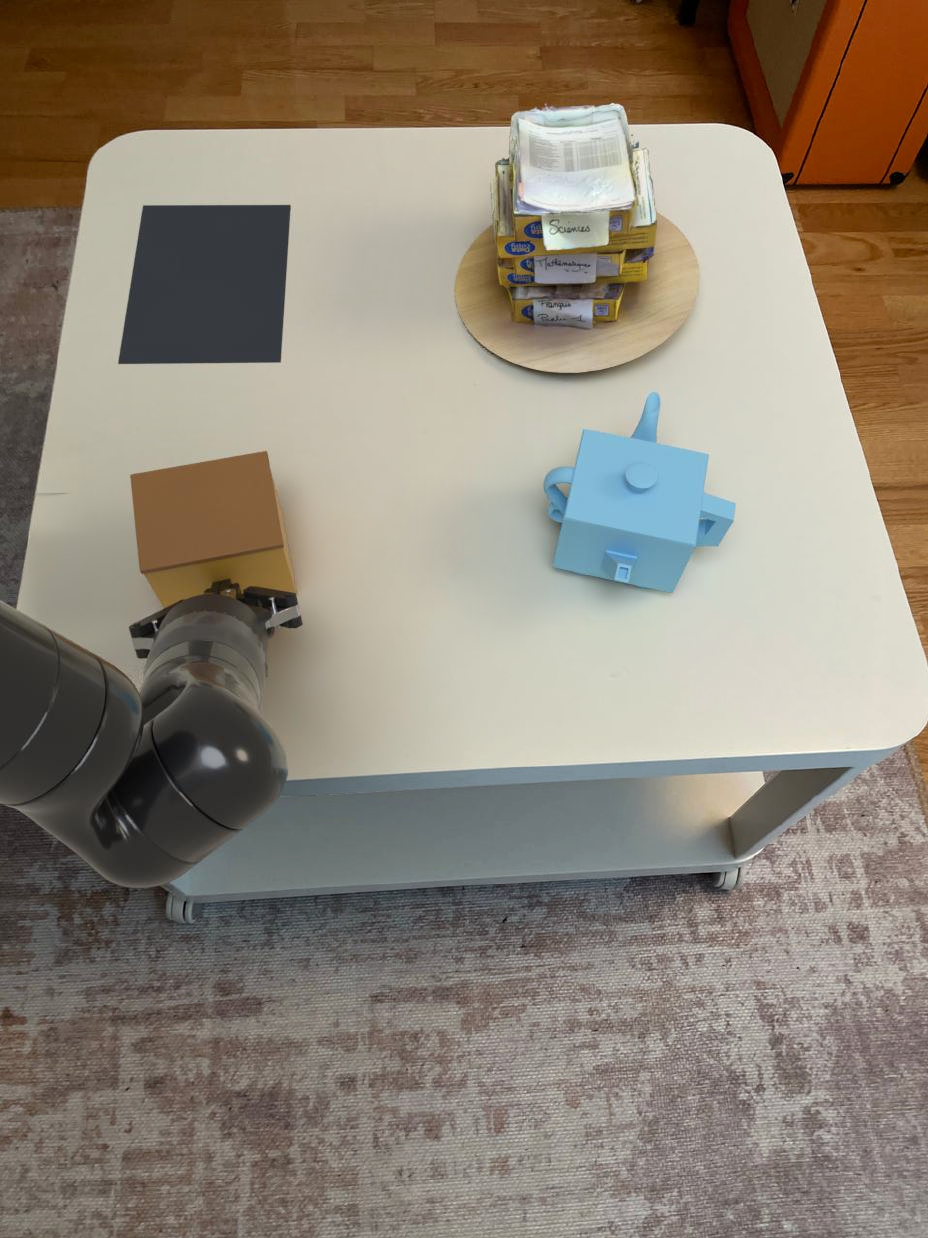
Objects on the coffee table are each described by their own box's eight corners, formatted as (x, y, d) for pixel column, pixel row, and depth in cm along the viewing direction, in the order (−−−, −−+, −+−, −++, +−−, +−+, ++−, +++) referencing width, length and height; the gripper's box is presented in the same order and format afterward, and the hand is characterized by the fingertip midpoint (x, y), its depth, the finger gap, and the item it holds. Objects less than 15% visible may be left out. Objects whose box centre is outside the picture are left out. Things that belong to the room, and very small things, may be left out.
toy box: (298, 595, 82) (283, 544, 74) (169, 620, 81) (139, 571, 73) (282, 508, 86) (266, 450, 78) (159, 531, 85) (129, 474, 77)
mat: (118, 364, 93) (117, 363, 93) (143, 206, 102) (143, 205, 102) (280, 363, 94) (280, 362, 93) (290, 205, 103) (290, 204, 103)
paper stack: (425, 352, 94) (423, 216, 79) (490, 186, 105) (499, 39, 90) (665, 410, 92) (710, 282, 77) (708, 235, 102) (754, 92, 87)
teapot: (517, 606, 82) (528, 541, 72) (555, 443, 90) (570, 363, 80) (695, 645, 81) (732, 585, 71) (719, 476, 89) (755, 400, 79)
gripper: (296, 593, 61) (294, 533, 77) (88, 634, 60) (131, 564, 76) (319, 697, 64) (312, 617, 80) (121, 739, 62) (155, 649, 78)
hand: (224, 591), depth 78 cm, fingers closed
